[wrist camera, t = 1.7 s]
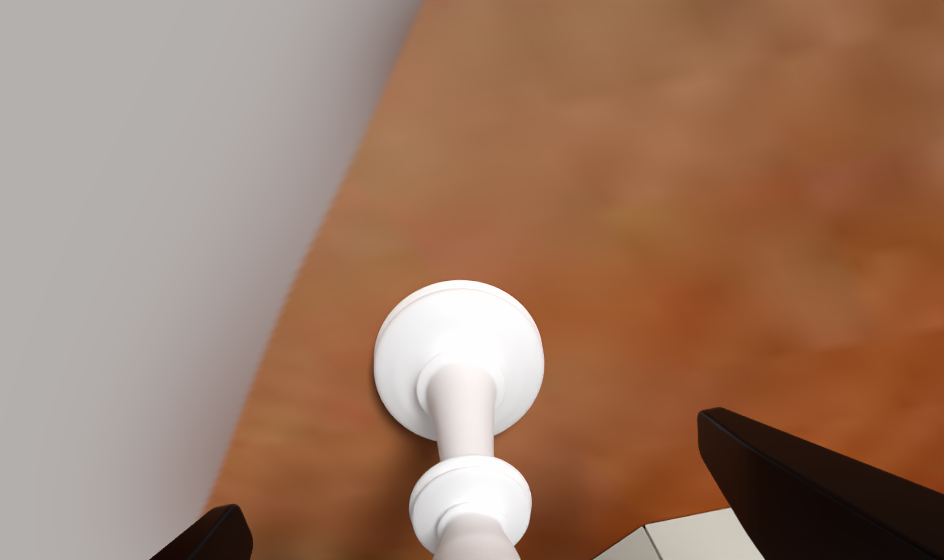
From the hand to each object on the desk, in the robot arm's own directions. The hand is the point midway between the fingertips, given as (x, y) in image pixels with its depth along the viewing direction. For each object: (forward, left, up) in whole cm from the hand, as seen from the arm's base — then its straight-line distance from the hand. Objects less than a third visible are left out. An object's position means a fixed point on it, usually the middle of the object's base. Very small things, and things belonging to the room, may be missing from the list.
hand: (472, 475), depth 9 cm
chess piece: (0, 0, -5) cm, 5 cm away
